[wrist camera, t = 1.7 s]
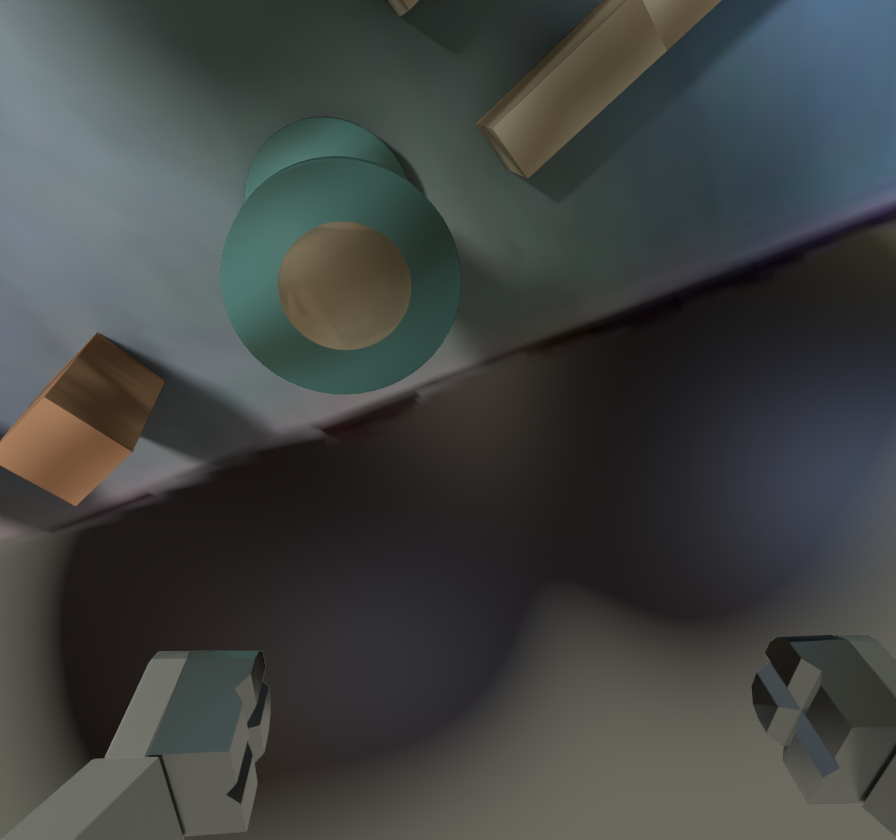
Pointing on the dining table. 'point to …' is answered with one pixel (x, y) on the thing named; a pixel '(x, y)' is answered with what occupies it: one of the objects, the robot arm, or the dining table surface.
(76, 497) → the wooden block
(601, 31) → the notched board
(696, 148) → the dining table surface
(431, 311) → the bobbin
